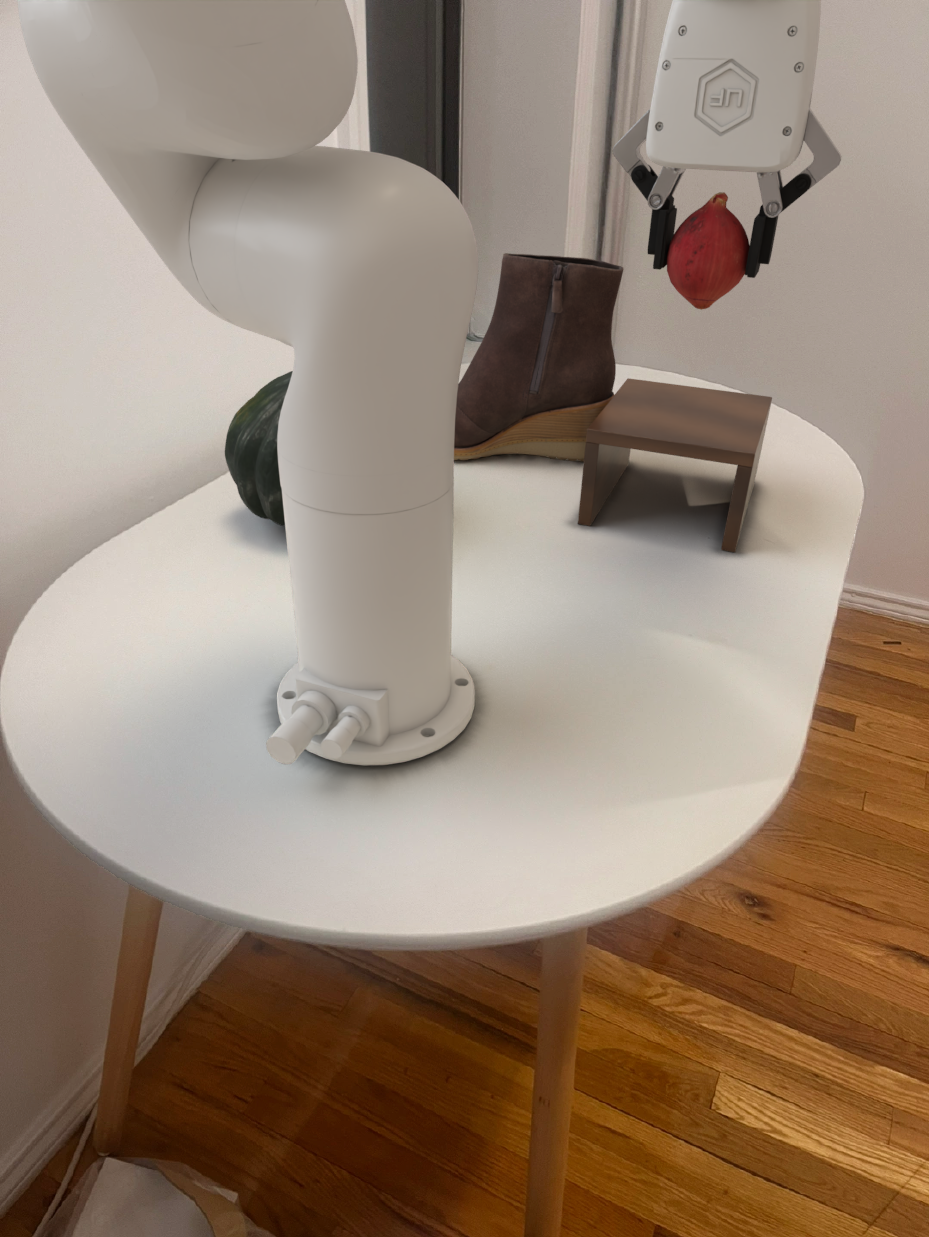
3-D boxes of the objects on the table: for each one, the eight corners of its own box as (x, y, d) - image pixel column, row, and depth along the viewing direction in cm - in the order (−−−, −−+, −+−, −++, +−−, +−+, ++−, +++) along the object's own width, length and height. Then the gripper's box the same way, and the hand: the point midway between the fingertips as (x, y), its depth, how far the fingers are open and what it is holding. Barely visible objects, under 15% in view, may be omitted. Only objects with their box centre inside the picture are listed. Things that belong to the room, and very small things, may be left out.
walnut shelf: (734, 552, 76) (755, 454, 71) (577, 523, 80) (586, 428, 75) (754, 484, 89) (772, 396, 84) (617, 462, 93) (627, 378, 88)
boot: (391, 430, 100) (386, 239, 89) (605, 441, 98) (627, 248, 87) (377, 459, 92) (369, 255, 82) (608, 472, 91) (632, 265, 80)
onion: (681, 321, 63) (699, 198, 59) (647, 302, 68) (661, 188, 64) (754, 316, 65) (775, 197, 60) (715, 299, 69) (733, 186, 65)
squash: (299, 413, 87) (232, 320, 73) (438, 442, 83) (395, 349, 69) (246, 542, 84) (166, 471, 70) (389, 578, 80) (333, 510, 66)
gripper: (602, -36, 55) (578, 269, 65) (900, -42, 50) (826, 292, 59) (629, -27, 61) (604, 252, 71) (899, -31, 55) (832, 271, 65)
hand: (706, 267), depth 65 cm, fingers closed on onion, 6 cm apart
